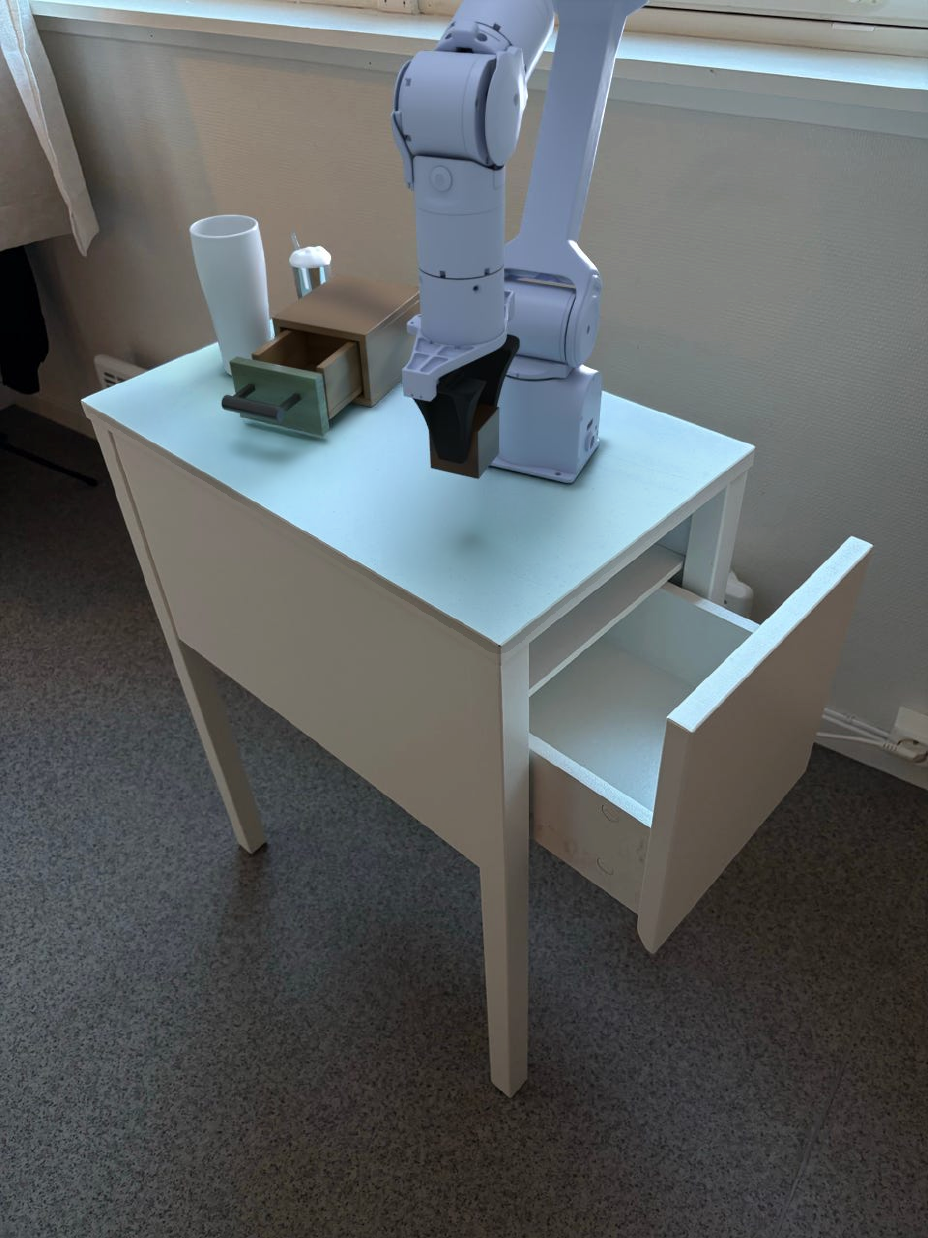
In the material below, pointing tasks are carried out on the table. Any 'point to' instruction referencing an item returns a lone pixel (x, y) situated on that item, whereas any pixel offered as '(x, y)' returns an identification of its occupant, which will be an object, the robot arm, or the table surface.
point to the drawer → (296, 381)
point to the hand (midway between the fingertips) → (465, 444)
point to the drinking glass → (233, 282)
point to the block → (474, 445)
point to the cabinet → (361, 325)
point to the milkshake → (309, 267)
